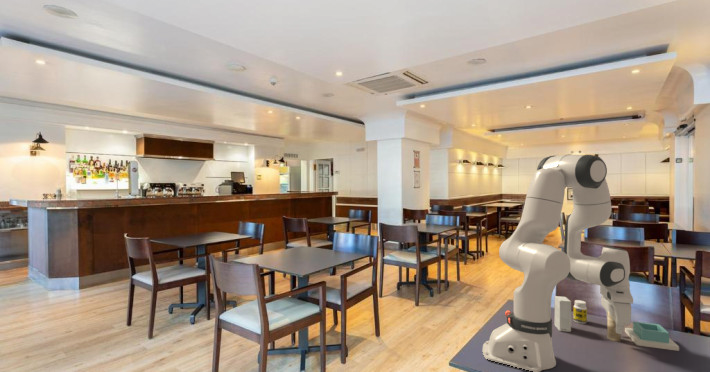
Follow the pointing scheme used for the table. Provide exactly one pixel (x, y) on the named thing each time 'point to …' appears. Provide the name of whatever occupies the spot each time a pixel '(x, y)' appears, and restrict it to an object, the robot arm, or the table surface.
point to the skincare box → (563, 313)
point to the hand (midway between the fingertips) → (614, 327)
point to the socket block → (651, 336)
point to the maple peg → (612, 330)
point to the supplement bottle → (580, 312)
